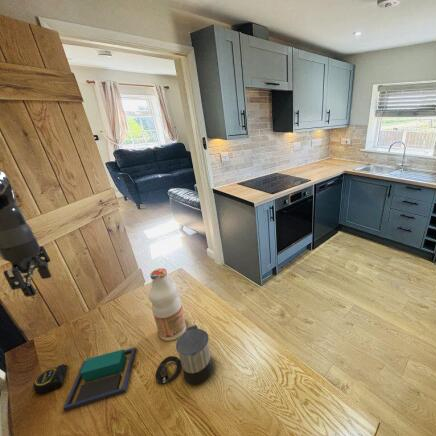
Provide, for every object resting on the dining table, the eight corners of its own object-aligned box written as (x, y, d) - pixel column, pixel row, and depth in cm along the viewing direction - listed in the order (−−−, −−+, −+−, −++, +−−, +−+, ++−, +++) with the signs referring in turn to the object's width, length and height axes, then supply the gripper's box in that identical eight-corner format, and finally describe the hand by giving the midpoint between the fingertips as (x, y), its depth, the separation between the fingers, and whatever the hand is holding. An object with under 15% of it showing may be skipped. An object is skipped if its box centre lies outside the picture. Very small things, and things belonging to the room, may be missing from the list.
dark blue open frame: (65, 412, 66) (62, 408, 65) (86, 365, 79) (83, 361, 78) (126, 393, 71) (124, 389, 70) (136, 351, 84) (134, 347, 83)
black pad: (76, 405, 67) (74, 402, 67) (83, 388, 72) (81, 384, 71) (117, 392, 71) (116, 389, 70) (121, 376, 75) (120, 373, 74)
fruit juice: (155, 342, 87) (136, 281, 75) (166, 321, 96) (151, 264, 84) (181, 342, 87) (166, 281, 76) (190, 321, 96) (178, 264, 84)
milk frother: (218, 374, 77) (213, 342, 71) (166, 410, 67) (155, 377, 61) (201, 344, 86) (195, 314, 80) (153, 372, 77) (143, 340, 71)
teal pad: (85, 383, 73) (80, 373, 71) (91, 368, 77) (86, 358, 75) (123, 372, 76) (119, 362, 74) (127, 358, 81) (123, 349, 79)
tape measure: (63, 389, 72) (58, 381, 70) (32, 400, 69) (27, 392, 67) (69, 369, 77) (65, 361, 76) (41, 379, 74) (36, 371, 73)
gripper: (14, 230, 71) (37, 275, 77) (-24, 255, 59) (7, 305, 65) (46, 227, 73) (65, 270, 80) (16, 250, 61) (42, 299, 68)
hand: (39, 286), depth 72 cm, fingers open, 8 cm apart
